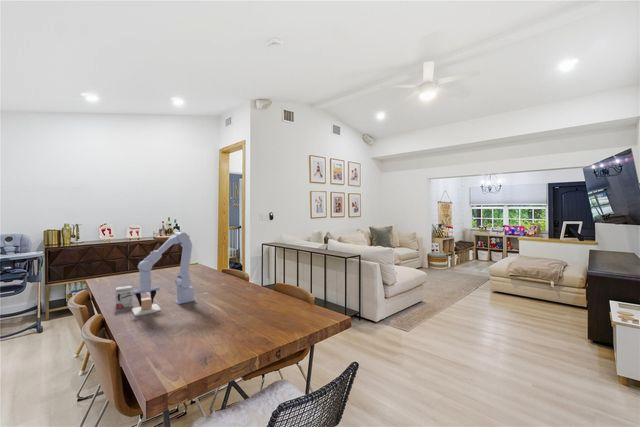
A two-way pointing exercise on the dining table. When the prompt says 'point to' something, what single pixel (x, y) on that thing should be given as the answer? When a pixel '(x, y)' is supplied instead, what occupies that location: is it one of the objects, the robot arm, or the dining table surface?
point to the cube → (146, 303)
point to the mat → (145, 310)
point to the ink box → (124, 297)
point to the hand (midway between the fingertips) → (146, 304)
